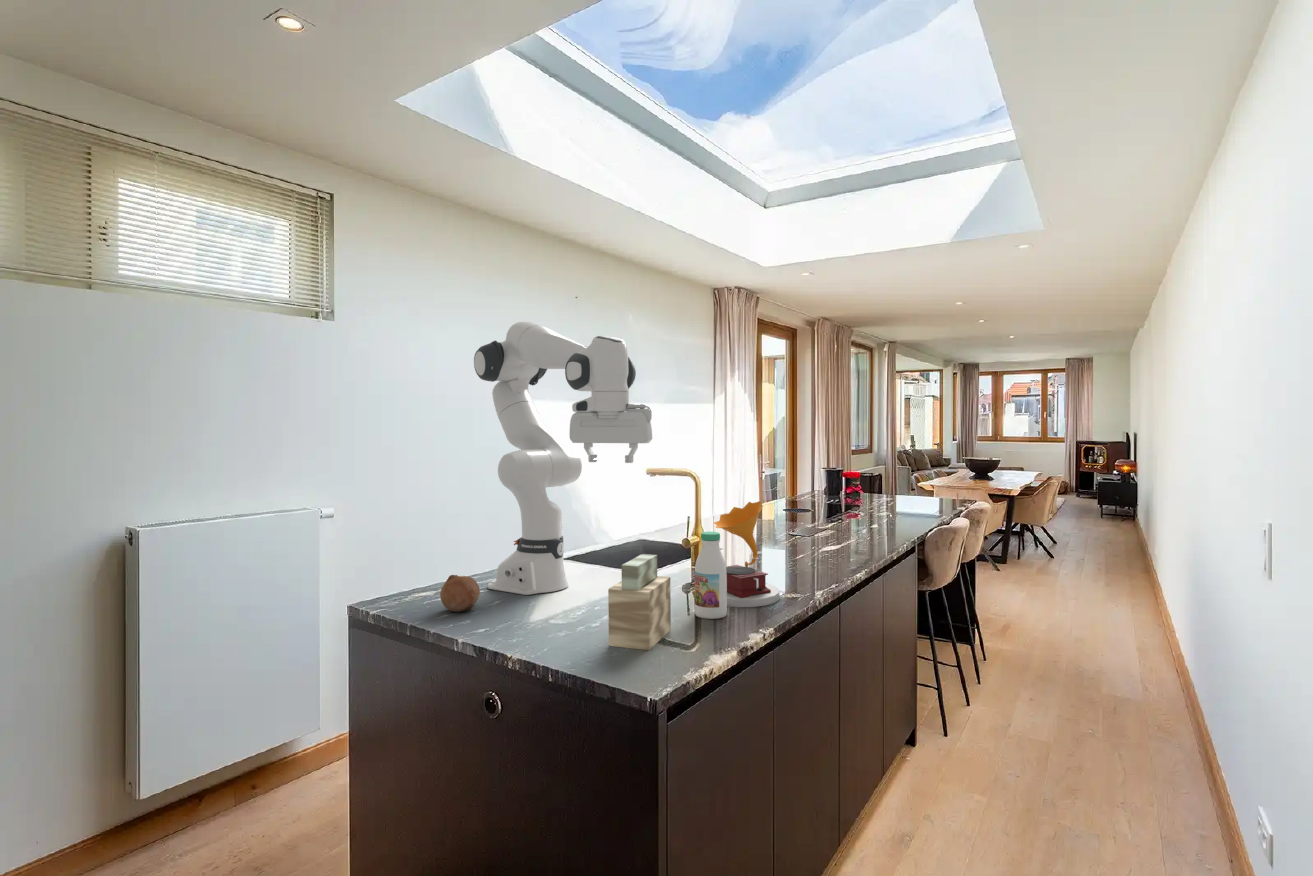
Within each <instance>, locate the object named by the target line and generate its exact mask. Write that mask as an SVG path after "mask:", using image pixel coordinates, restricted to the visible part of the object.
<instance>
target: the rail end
mask: <svg viewBox="0 0 1313 876" xmlns="http://www.w3.org/2000/svg"><path fill="white" fill-rule="evenodd" d="M620 565H621V566H620V567H621V581H622V589H629V590H639V589H640V588H644V587H645V586H647V585H648V584H650V583H651V582H652V580H654V579H655V578H657V576H658V554H648V553H647V554H646V553H640V554H639V555H637V556H636V557H634V558H632V559H629V561H626V562H625V563H623V564H620Z"/></svg>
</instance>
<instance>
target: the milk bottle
mask: <svg viewBox="0 0 1313 876" xmlns="http://www.w3.org/2000/svg"><path fill="white" fill-rule="evenodd" d="M700 539H701V541H700V542H701V548H700V552H699V554H698V556H697V559H696V560H695V566H694V613H695V614H694V615H695V616H696V617H697V618H701V619H706V620H707V619H709V620H716V619H721V618H724V617H726V616H727V613H728V611H727V609H728V606H727V573H726V565H727V564H726V561H725V558H724V556H723V553H722V552H721V548H720V542H721V534H720V532H718V531H703V532H701V533H700Z"/></svg>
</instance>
